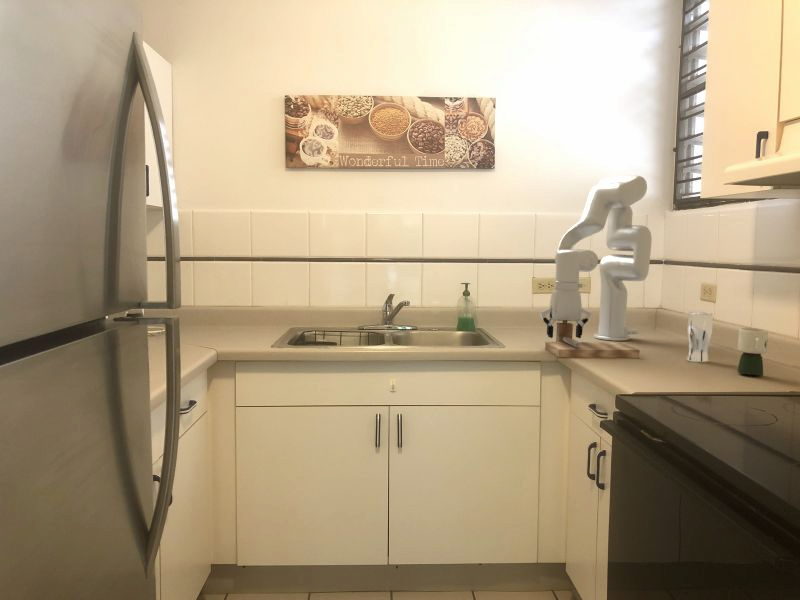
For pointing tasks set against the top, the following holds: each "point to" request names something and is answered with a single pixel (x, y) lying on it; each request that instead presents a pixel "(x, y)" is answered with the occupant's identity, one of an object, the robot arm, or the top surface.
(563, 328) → the marking gauge
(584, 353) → the oak board
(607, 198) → the robot arm
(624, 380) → the top surface
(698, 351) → the beer glass
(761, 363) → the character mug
